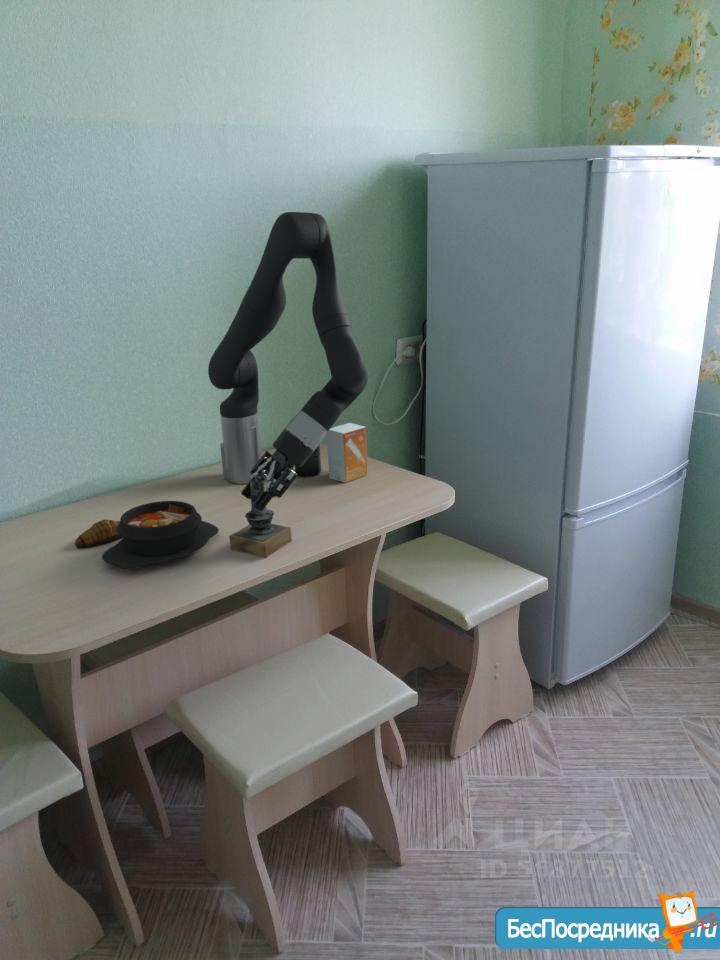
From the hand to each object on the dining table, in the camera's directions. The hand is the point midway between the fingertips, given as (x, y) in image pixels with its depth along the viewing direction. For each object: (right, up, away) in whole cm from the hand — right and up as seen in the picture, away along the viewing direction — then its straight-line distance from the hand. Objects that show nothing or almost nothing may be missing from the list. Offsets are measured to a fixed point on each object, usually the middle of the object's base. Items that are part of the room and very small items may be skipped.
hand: (250, 502), depth 159 cm
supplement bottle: (+9, +6, +46) cm, 47 cm away
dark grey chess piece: (+2, -6, +3) cm, 7 cm away
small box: (+19, +5, +42) cm, 46 cm away
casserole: (-19, -10, +3) cm, 21 cm away
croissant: (-32, -9, +10) cm, 35 cm away
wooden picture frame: (+2, -9, +4) cm, 10 cm away
